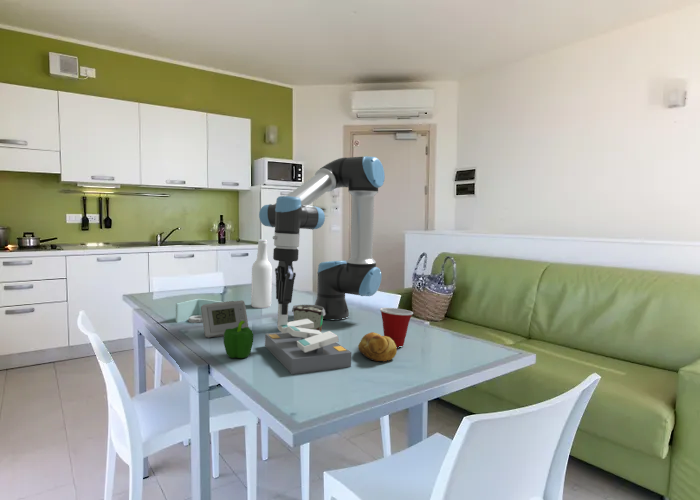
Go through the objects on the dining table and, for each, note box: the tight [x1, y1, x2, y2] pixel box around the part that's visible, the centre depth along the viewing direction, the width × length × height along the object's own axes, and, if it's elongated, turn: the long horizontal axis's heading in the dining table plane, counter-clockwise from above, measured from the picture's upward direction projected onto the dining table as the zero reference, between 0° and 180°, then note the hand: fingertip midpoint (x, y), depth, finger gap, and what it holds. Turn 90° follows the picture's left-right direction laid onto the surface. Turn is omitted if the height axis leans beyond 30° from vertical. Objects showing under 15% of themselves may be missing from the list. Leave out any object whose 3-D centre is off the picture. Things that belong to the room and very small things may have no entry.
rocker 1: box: [277, 319, 314, 333], centre depth 135 cm, size 10×6×2 cm, turn 116°
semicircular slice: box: [291, 304, 325, 332], centre depth 150 cm, size 12×6×10 cm, turn 65°
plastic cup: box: [379, 307, 414, 347], centre depth 141 cm, size 11×11×12 cm
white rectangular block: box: [297, 330, 339, 352], centre depth 119 cm, size 10×6×2 cm, turn 116°
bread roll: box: [357, 331, 398, 362], centre depth 129 cm, size 13×10×8 cm
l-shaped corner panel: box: [175, 298, 222, 324], centre depth 164 cm, size 12×12×8 cm
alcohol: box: [250, 239, 273, 309], centre depth 193 cm, size 9×9×30 cm
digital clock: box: [201, 299, 250, 338], centre depth 148 cm, size 16×9×11 cm, turn 122°
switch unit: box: [264, 329, 352, 375], centre depth 127 cm, size 17×26×6 cm, turn 26°
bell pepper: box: [223, 321, 254, 359], centre depth 124 cm, size 8×8×10 cm
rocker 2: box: [287, 326, 323, 338], centre depth 127 cm, size 10×6×2 cm, turn 117°
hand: (282, 324), depth 133 cm, fingers closed
